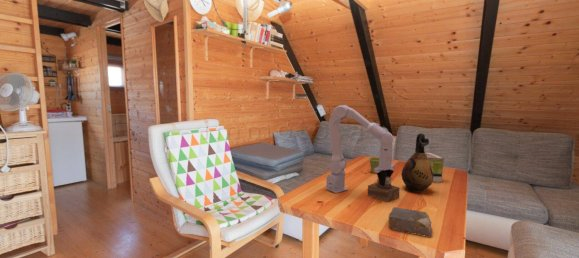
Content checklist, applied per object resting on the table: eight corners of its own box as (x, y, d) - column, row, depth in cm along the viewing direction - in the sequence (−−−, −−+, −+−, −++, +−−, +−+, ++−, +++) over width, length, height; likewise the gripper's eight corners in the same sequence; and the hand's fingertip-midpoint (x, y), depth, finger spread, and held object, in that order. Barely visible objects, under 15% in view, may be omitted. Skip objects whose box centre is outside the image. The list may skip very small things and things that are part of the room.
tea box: (442, 182, 159) (444, 157, 157) (424, 182, 159) (426, 157, 158) (429, 175, 174) (431, 152, 172) (413, 174, 174) (415, 151, 173)
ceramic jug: (436, 196, 137) (441, 136, 133) (403, 193, 140) (408, 135, 136) (426, 185, 154) (431, 132, 150) (397, 183, 157) (401, 131, 153)
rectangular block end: (387, 192, 132) (388, 178, 131) (376, 189, 137) (377, 175, 136) (390, 191, 133) (391, 177, 133) (379, 188, 138) (380, 174, 137)
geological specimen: (390, 206, 112) (431, 211, 105) (390, 220, 112) (431, 226, 106) (387, 215, 102) (433, 221, 96) (387, 231, 102) (432, 238, 96)
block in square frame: (387, 202, 128) (387, 191, 127) (367, 195, 137) (368, 185, 136) (398, 197, 134) (399, 187, 134) (379, 191, 143) (380, 181, 142)
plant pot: (380, 175, 172) (381, 161, 171) (366, 172, 177) (366, 159, 176) (385, 172, 179) (386, 159, 178) (371, 169, 185) (372, 157, 184)
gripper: (384, 161, 126) (382, 189, 127) (401, 157, 134) (399, 184, 136) (371, 158, 131) (369, 185, 133) (388, 154, 140) (386, 180, 142)
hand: (383, 184), depth 135 cm, fingers closed on rectangular block end, 2 cm apart
